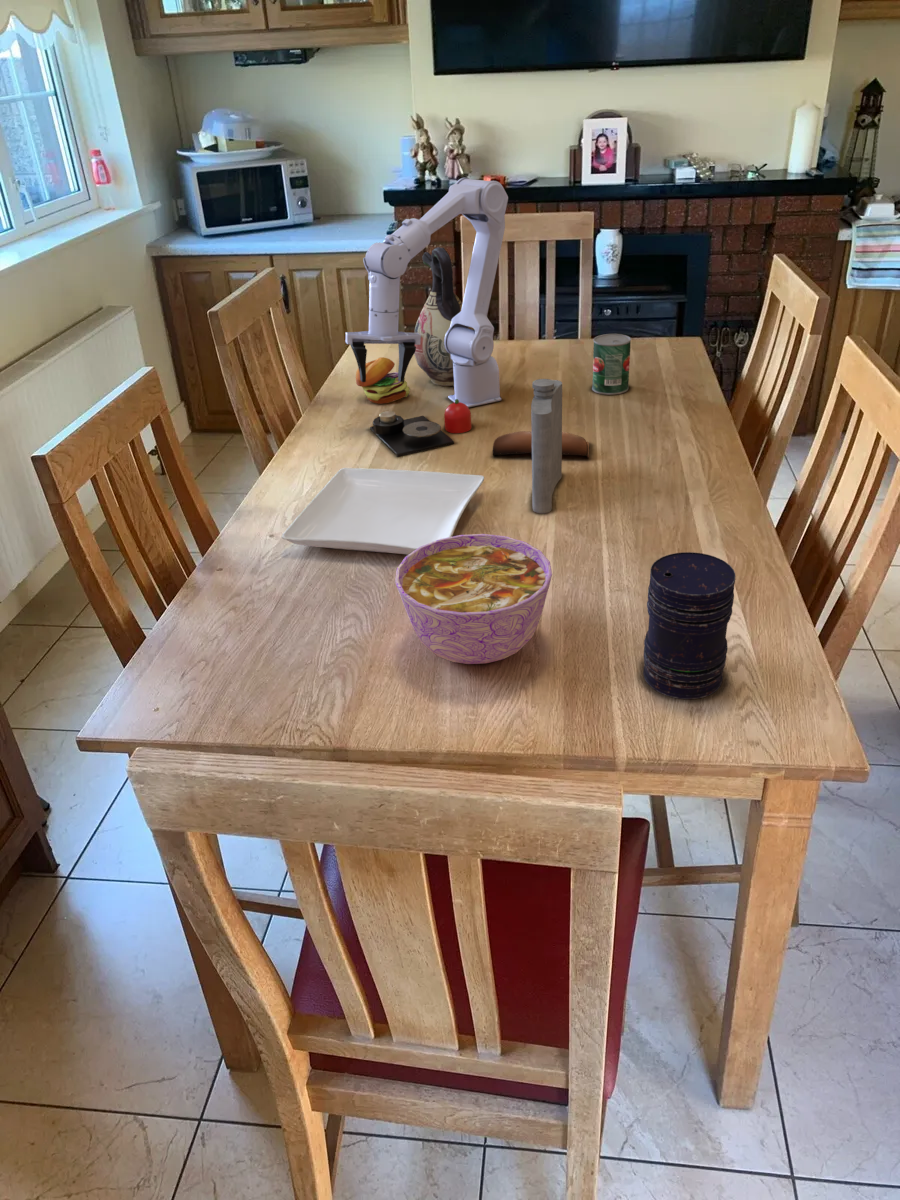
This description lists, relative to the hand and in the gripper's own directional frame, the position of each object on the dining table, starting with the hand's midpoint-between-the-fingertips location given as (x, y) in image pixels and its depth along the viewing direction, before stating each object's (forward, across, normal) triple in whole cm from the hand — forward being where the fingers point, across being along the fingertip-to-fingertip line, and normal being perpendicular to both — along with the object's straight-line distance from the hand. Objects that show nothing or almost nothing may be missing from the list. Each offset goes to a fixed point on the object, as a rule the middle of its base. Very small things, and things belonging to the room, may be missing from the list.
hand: (382, 380), depth 183 cm
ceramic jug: (+6, +21, +24) cm, 33 cm away
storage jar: (+15, +19, -93) cm, 96 cm away
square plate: (+15, -6, -39) cm, 42 cm away
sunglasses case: (+9, +27, -21) cm, 35 cm away
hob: (+10, +5, -4) cm, 12 cm away
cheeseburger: (+9, +5, +20) cm, 23 cm away
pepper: (+9, +15, -4) cm, 18 cm away
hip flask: (+10, +21, -38) cm, 45 cm away
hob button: (+8, +2, 0) cm, 9 cm away
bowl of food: (+17, -3, -78) cm, 80 cm away
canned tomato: (+3, +52, +4) cm, 52 cm away
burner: (+8, +7, -6) cm, 13 cm away
